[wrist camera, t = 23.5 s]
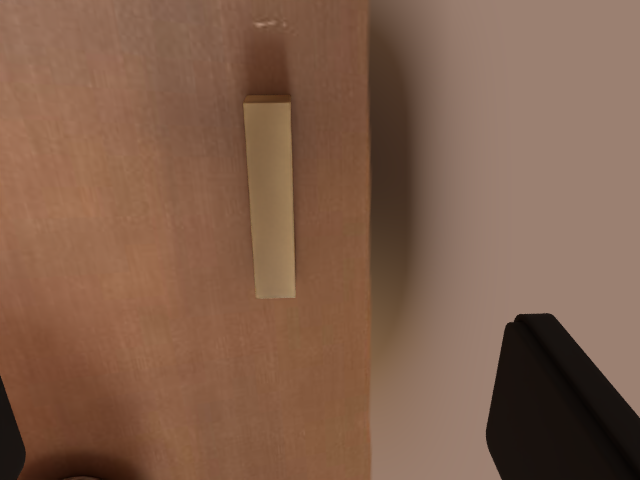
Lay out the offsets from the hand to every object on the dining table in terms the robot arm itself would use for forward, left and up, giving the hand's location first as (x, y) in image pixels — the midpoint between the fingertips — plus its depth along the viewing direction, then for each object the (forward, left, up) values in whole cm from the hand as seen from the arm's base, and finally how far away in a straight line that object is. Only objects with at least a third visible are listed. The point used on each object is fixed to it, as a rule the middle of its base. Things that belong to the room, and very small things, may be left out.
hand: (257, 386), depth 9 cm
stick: (+1, +4, -22) cm, 23 cm away
